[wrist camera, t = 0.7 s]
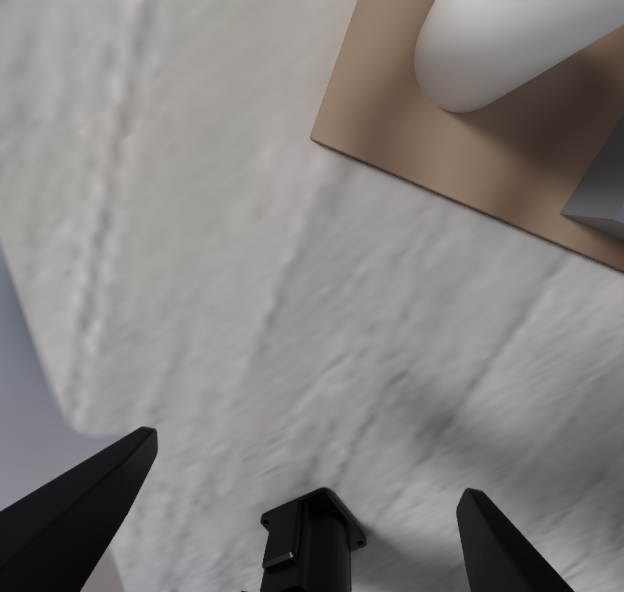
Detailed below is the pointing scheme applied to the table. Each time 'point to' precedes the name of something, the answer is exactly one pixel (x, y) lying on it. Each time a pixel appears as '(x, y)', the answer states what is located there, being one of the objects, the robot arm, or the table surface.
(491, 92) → the white capped cylinder
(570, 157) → the board
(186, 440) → the table surface
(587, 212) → the socket collar
